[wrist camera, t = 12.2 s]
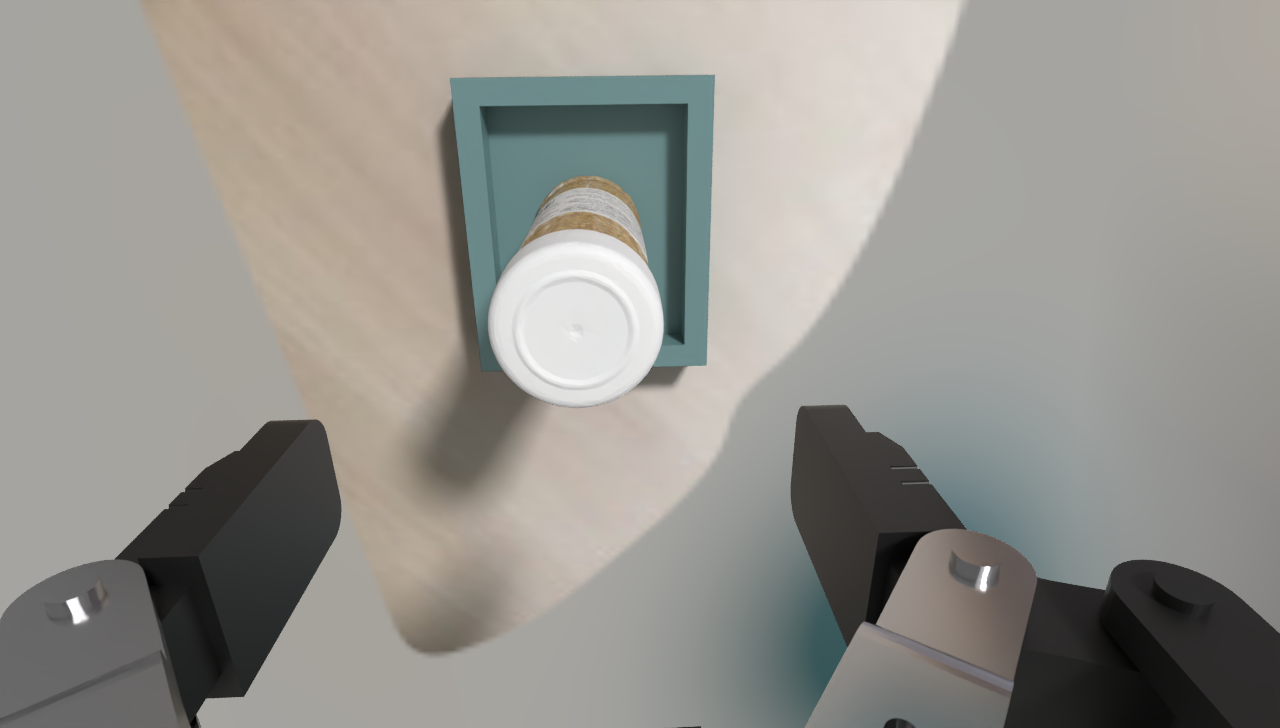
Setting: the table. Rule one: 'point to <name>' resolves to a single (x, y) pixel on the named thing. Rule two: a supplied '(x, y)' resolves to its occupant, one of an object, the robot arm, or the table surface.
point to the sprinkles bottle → (578, 299)
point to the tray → (592, 146)
